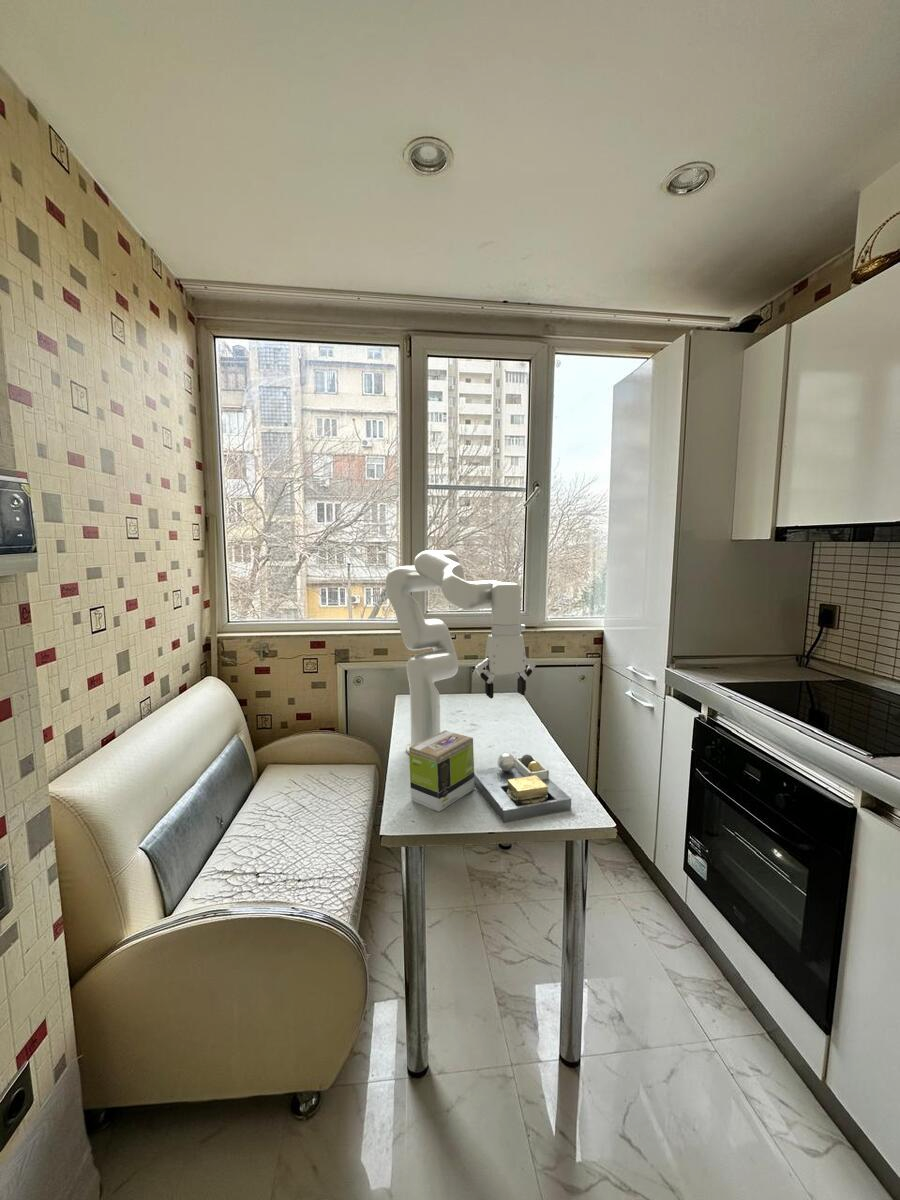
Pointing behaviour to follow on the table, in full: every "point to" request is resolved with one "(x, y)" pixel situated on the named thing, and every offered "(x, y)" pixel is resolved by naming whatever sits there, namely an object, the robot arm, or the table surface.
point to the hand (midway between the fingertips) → (505, 695)
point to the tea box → (441, 769)
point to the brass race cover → (527, 787)
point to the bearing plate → (505, 802)
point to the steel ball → (506, 762)
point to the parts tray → (540, 774)
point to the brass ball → (534, 766)
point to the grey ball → (526, 760)
